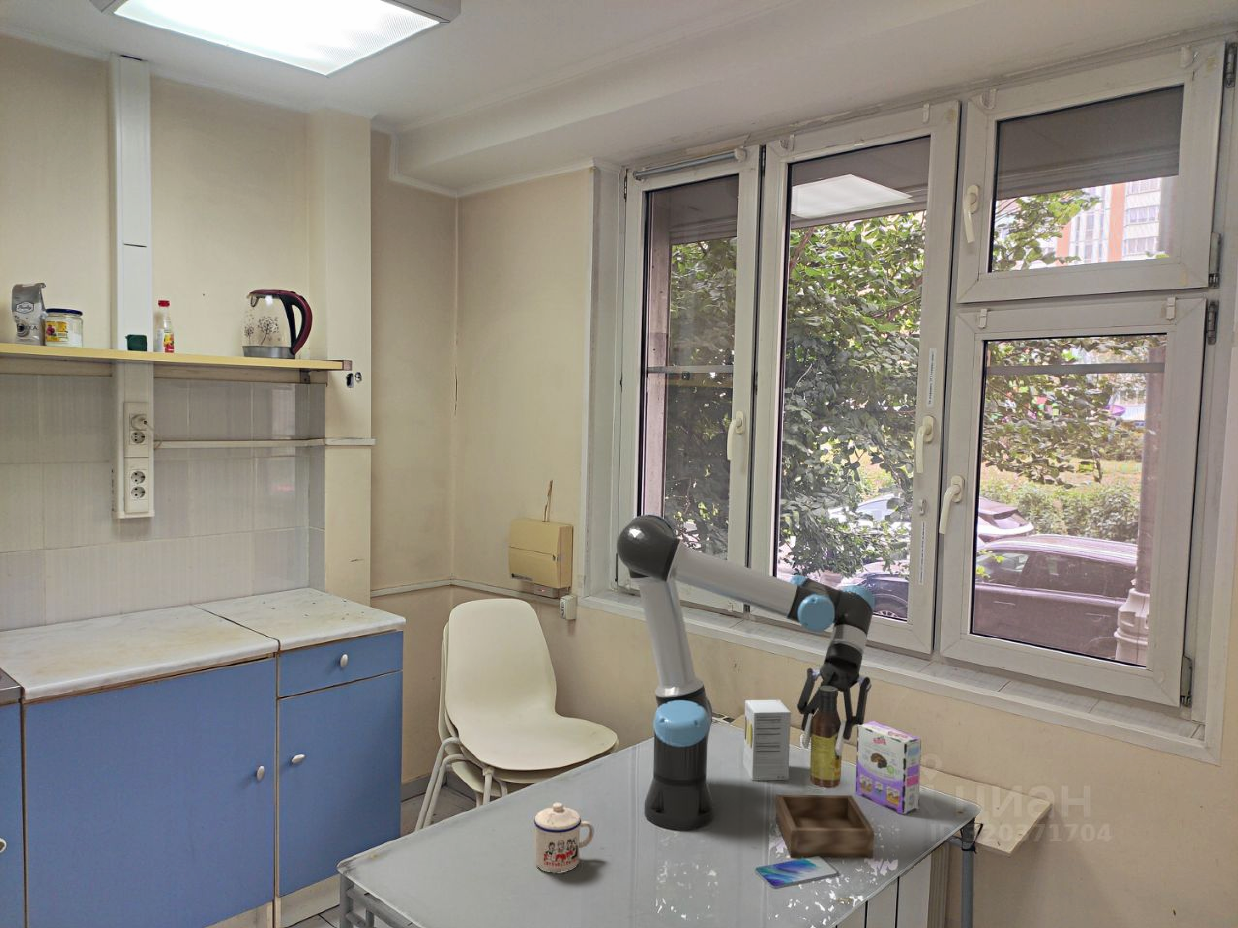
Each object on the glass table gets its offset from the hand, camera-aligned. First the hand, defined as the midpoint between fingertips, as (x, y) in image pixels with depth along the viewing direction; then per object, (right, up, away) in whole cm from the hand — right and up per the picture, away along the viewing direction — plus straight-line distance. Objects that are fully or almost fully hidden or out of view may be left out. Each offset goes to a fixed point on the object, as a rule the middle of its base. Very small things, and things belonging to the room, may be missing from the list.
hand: (821, 748), depth 180 cm
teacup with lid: (-52, -20, -7) cm, 56 cm away
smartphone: (-7, -21, -10) cm, 24 cm away
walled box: (+1, -20, +4) cm, 20 cm away
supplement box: (-5, -18, +37) cm, 42 cm away
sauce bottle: (+2, -8, +4) cm, 9 cm away
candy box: (+20, -19, +23) cm, 36 cm away
